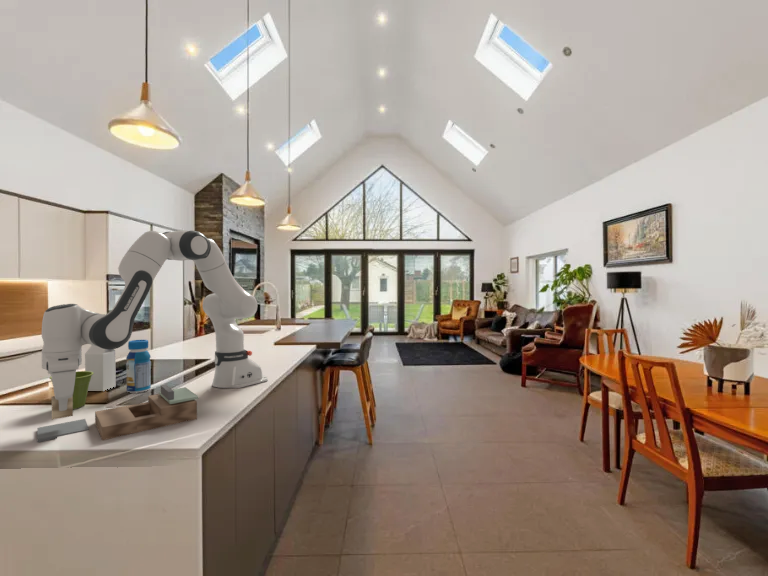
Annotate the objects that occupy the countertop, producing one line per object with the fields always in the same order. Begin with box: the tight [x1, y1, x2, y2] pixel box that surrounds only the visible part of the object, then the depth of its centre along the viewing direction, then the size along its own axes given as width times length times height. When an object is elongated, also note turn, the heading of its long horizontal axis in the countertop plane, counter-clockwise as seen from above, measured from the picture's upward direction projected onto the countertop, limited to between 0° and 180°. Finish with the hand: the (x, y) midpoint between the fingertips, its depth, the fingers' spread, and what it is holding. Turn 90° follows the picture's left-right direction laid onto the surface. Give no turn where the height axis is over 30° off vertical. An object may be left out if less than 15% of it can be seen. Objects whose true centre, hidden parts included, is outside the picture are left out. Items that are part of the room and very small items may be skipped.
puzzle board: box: [94, 393, 198, 441], centre depth 117 cm, size 24×17×6 cm
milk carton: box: [84, 344, 117, 392], centre depth 153 cm, size 7×7×19 cm
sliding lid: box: [158, 384, 199, 404], centre depth 123 cm, size 8×14×3 cm, turn 43°
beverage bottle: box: [125, 339, 152, 394], centre depth 152 cm, size 8×8×20 cm
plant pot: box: [48, 370, 93, 410], centre depth 132 cm, size 12×12×11 cm
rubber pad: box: [37, 418, 90, 443], centre depth 111 cm, size 11×11×1 cm
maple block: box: [51, 395, 74, 420], centre depth 110 cm, size 4×4×6 cm
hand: (62, 407), depth 110 cm, fingers closed on maple block, 4 cm apart
